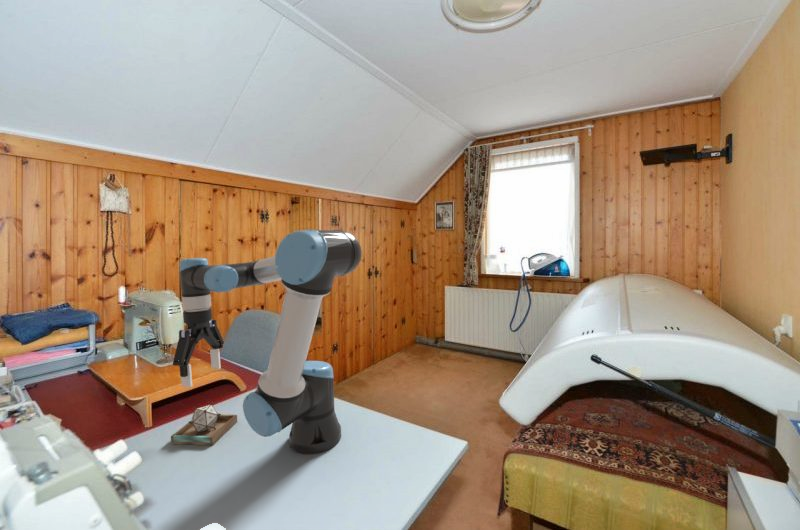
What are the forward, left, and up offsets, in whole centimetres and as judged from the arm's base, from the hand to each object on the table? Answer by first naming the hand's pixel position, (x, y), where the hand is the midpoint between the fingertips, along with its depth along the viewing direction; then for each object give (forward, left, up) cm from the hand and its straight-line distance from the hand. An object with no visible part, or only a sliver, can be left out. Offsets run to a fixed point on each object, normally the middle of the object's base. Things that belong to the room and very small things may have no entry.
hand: (202, 377), depth 108 cm
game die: (0, 0, -17) cm, 17 cm away
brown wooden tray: (0, 0, -18) cm, 18 cm away
